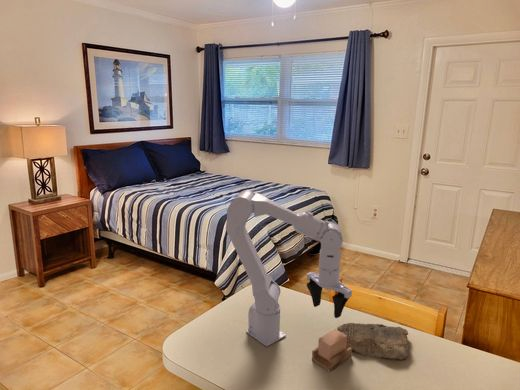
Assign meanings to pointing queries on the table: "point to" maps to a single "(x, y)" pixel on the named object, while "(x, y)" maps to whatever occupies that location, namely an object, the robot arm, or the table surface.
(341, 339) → the clay bar
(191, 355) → the table surface
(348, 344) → the rough brown rock
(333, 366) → the rack
